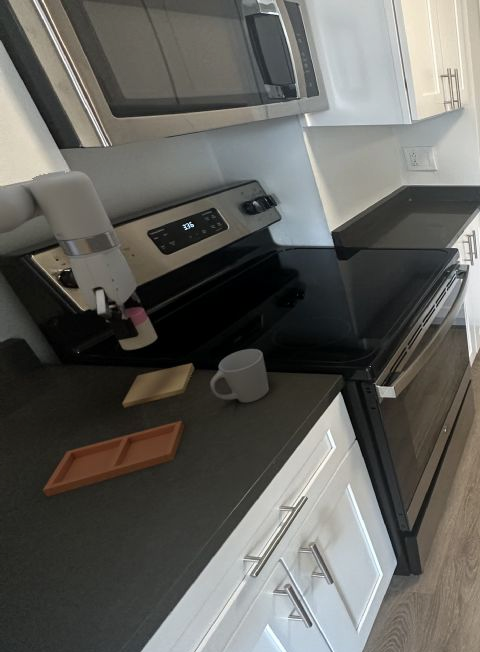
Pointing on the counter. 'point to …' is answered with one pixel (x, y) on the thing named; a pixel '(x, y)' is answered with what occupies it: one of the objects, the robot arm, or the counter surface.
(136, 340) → the pink lidded jar
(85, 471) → the divided tray
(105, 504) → the counter surface
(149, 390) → the board
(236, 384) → the cup
